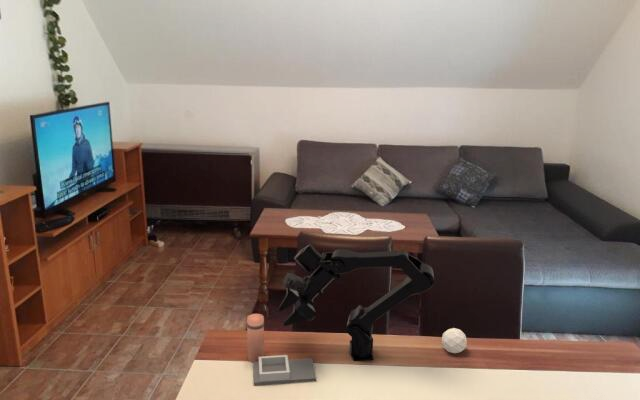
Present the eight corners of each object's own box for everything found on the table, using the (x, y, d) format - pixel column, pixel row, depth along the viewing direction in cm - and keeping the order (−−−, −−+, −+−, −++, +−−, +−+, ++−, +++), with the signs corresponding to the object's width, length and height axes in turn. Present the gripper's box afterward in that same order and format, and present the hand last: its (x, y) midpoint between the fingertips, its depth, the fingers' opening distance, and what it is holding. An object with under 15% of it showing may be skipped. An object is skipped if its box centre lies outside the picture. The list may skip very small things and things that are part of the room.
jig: (311, 361, 156) (312, 351, 155) (316, 381, 146) (316, 370, 145) (253, 364, 153) (252, 354, 152) (253, 385, 144) (253, 375, 143)
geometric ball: (454, 355, 165) (466, 334, 166) (461, 360, 157) (474, 338, 158) (434, 342, 166) (446, 321, 166) (441, 347, 158) (454, 325, 158)
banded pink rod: (264, 352, 160) (263, 313, 156) (264, 362, 155) (264, 321, 151) (247, 353, 159) (246, 313, 155) (247, 363, 154) (246, 322, 150)
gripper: (293, 254, 160) (259, 288, 161) (305, 279, 143) (266, 317, 143) (317, 274, 164) (283, 308, 165) (331, 301, 147) (293, 339, 147)
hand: (281, 317), depth 155 cm, fingers open, 9 cm apart
